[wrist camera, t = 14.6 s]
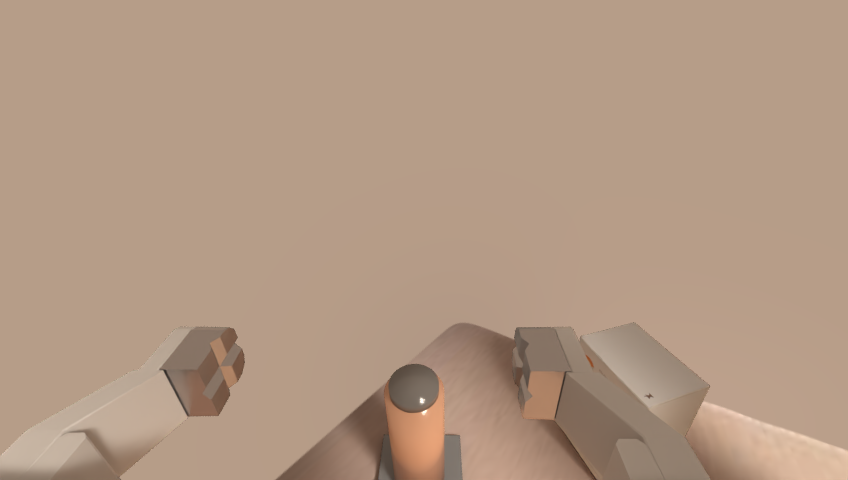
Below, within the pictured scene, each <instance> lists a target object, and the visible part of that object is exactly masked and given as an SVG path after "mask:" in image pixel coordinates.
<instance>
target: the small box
mask: <svg viewBox="0 0 848 480" xmlns="http://www.w3.org/2000/svg"><path fill="white" fill-rule="evenodd" d="M579 342H580V344H581V347H582V349H583V351H584V353H585V355H586V357H587V359H588V362H589V364H590V366H591V368H592V370H593V372H596V373H600V374H602V375H603V376H604V377H606V378H607V379H608V380H610V381H611V382H612V383H614V384H615V385H616V386H618V387H619V388H620V389H621V390H623V391H624V392H625V393H627V394H628V395H629V396H631V397H632V398H633V399H635V400H636V401H637V402H639V403H640V404H641V405H643V406H644V407H645V408H647V409H648V410H649V411H651V412H652V413H653V414H654V415H656V416H657V417H658V418H660V419H661V420H662V421H664V422H665V423H666V424H668V425H669V426H670V427H672V428H673V429H674V430H676V431H677V432H678V433H680V434H681V435H682V436H684V437H685V436H686V434H687V432H688V430H689V428H690V426H691V424H692V422H693V420H694V418H695V416H696V414H697V412H698V410H699V408H700V406H701V404H702V402H703V400H704V398H705V396H706V394H707V392H708V390H709V388H710V385H709V384H707V383H706V382H705V381H704V380H702V379H701V378H700V377H699V376H698V375H697V374H695V373H694V372H693V371H692V370H690V369H689V368H688V367H687V366H686V365H685V364H683V363H682V362H681V361H680V360H679V359H677V358H676V357H675V356H674V355H673V354H672V353H670V352H669V351H668V350H667V349H666V348H664V347H663V346H662V345H661V344H660V343H658V342H657V341H656V340H655V339H654V338H652V337H651V336H650V335H649V334H648V333H647V332H645V331H644V330H643V329H642V328H641V327H640V326H638V325H637V324H636V323H634V322H633V323H630V324H626V325H622V326H618V327H614V328H611V329H607V330H603V331H600V332H596V333H591V334H587V335H583V336H581V337H580V341H579ZM564 433H565V432H564ZM566 436H567V435H566ZM567 437H568V436H567ZM568 439H569V440H570V442H571V443H572V444H573V446H574V447H575V449H576V450H577V452H578V453H579V455H580V456H581V458H582V459H583V461H584V462H585V463H586V465H587V466H588V468H589V469H590V471H591V472H592V474H593V475H594V476H595V478H596V479H597V480H602V478H603V476H602V475H601V474H600V473H599V472H598V470H597V469H596V468H595V467H594V466H593V465H592V464H591V462H590V461H589V460H588V459H587V458H586V457H585V455H584V454H583V453H582V452H581V451H580V450H579V449H578V447H577V446H576V445H575V444H574V443H573V442H572V441H571V439H570V438H569V437H568Z"/></svg>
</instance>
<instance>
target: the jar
mask: <svg viewBox="0 0 848 480" xmlns="http://www.w3.org/2000/svg"><path fill="white" fill-rule="evenodd" d="M384 398H385V406H386V414H387V422H388V430H389V438H390V446H391V454H392V461H393V469H394V477H395V480H444V478H445V449H444V386H443V383H442V381H441V379H440V378H439V377H438V376H437V375H436V374H435V372H434V371H433V370H432V369H430V368H428V367H426V366H424V365H420V364H410V365H406V366H403V367H401V368H399V369H398V370H396V371H395V372H394V373H393V375H392V376H391V378H390V379H389V380H388V382H387V384H386V386H385V390H384Z"/></svg>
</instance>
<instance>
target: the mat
mask: <svg viewBox="0 0 848 480" xmlns="http://www.w3.org/2000/svg"><path fill="white" fill-rule="evenodd" d="M444 449H445V478H444V480H462V463H461V446H460V435H444ZM378 480H395V477H394V469H393V461H392V454H391V446H390V438H389V435H384V438H383V446H382V454H381V462H380V470H379V477H378Z"/></svg>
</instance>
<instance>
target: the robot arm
mask: <svg viewBox="0 0 848 480" xmlns="http://www.w3.org/2000/svg"><path fill="white" fill-rule="evenodd" d="M237 338H238V337H237V335H236V332H235V330H234V329H233V328H230V327H178V328H176V329H174V330H173V331H172V333H171V334H170V335H169V336H168V337H167V338H166V339H165V341H164V342H163V343H162V344H161V345H160V347H158V349H157V350H156V351H155V352H154V353H153V354H152V356H151V357H150V358H149V359H148V360H147V361H146V362H145V363H144V365H143V366H142V367H141V368H140V369H139V370H133V371H131V372H129V373H127V374H126V375H124V376H122V377H120V378H119V379H117V380H115V381H113V382H111V383H110V384H108V385H106V386H104V387H103V388H101V389H99V390H97V391H96V392H94V393H92V394H90V395H88V396H87V397H85V398H83V399H81V400H80V401H78V402H76V403H74V404H73V405H71V406H69V407H67V408H65V409H64V410H62V411H60V412H58V413H56V414H55V415H53V416H51V417H50V418H48V419H46V420H44V421H42V422H40V423H39V424H37V425H35V426H33V427H32V428H30V429H28V430H26V431H25V432H24V433H23V434H22V435H21V436H20V437H19V438H18V439H17V440H16V442H14V443H13V444H12V445H11V446H10V447H9V448H8V449H7V450H6V451H5V452H4V453H3V454H2V455H1V456H0V480H121V479H120V478H119V477H120V476H121V475H122V474H123V473H124V472H126V471H127V470H128V469H129V468H130V467H131V466H133V465H134V464H135V463H136V462H137V461H138V460H140V459H141V458H142V457H143V456H144V455H145V454H147V453H148V452H149V451H150V450H151V449H152V448H154V447H155V446H156V445H157V444H158V443H159V442H161V441H162V440H163V439H164V438H165V437H167V436H168V435H169V434H170V433H171V432H172V431H173V430H175V429H176V428H177V427H178V426H179V425H181V423H183V422H184V421H185V420H186V419H187V418H188V416H218V415H219V414H220V412H221V411H222V409H223V407H224V405H225V403H226V401H227V400H228V398H229V396H230V392H229V388H230V387H231V386H232V385H234V384H235V383H236V382H238V380H239V378H240V376H241V374H242V371H243V368H244V363H245V361H244V353H243V351H242V349H241V348H240V347H239V346H238V345H237V344H235V341H236V340H237ZM514 338H515V343H516V347H515V348H514V349H513V353H512V370H513V377H514V381H515V384H516V385H517V386H518V387H519V393H518V400H519V404H520V408H521V412H522V417H523V419H548V420H555V422H556V423H557V424H558V426H559V427H560V428H561V429H562V430H563V431H564V432H565V434H566V435H567V436H568V437H569V438H570V439H571V441H572V442H573V443H574V444H575V445H576V446H577V447H578V449H579V450H580V451H581V452H582V453H583V454H584V455H585V457H586V458H587V459H588V460H589V461H590V462H591V464H592V465H593V466H594V467H595V468H596V469H597V470H598V472H599V473H600V474H601V475H602V476H603V478H602V480H711V479H710V477H709V476H708V474H707V472H706V471H705V469H704V467H703V466H702V464H701V462H700V461H699V459H698V457H697V456H696V454H695V452H694V451H693V449H692V448H691V446H690V444H689V443H688V441H687V439H686V438H685V437H684V436H682V435H681V434H680V433H678V432H677V431H676V430H674V429H673V428H672V427H670V426H669V425H668V424H666V423H665V422H664V421H662V420H661V419H660V418H658V417H657V416H656V415H654V414H653V413H652V412H651V411H649V410H648V409H647V408H645V407H644V406H643V405H641V404H640V403H639V402H637V401H636V400H635V399H633V398H632V397H631V396H629V395H628V394H627V393H625V392H624V391H623V390H621V389H620V388H619V387H618V386H616V385H615V384H614V383H612V382H611V381H610V380H608V379H607V378H606V377H604V376H603V375H602V374H600V373H596V372H593V370H592V368H591V366H590V364H589V362H588V359H587V357H586V355H585V353H584V351H583V349H582V347H581V344H580V342H579V340H578V338H577V336H576V334H575V332H574V329H572V328H571V327H552V328H551V327H536V328H535V327H528V328H526V327H524V328H522V327H521V328H516V331H515V337H514Z"/></svg>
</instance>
